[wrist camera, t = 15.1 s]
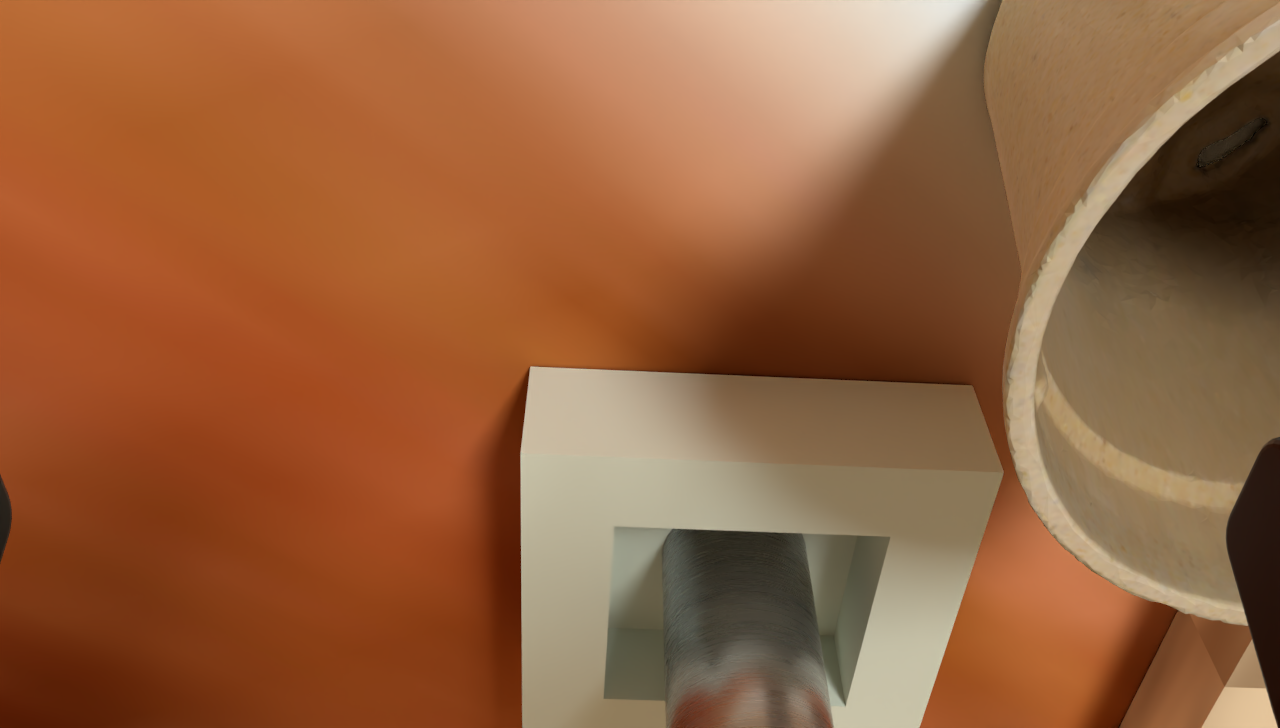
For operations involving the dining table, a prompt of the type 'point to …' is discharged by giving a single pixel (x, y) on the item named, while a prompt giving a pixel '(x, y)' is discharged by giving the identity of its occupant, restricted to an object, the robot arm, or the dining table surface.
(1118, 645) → the dining table surface
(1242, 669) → the socket block
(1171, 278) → the flower pot
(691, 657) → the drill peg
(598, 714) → the white hollow flat block
